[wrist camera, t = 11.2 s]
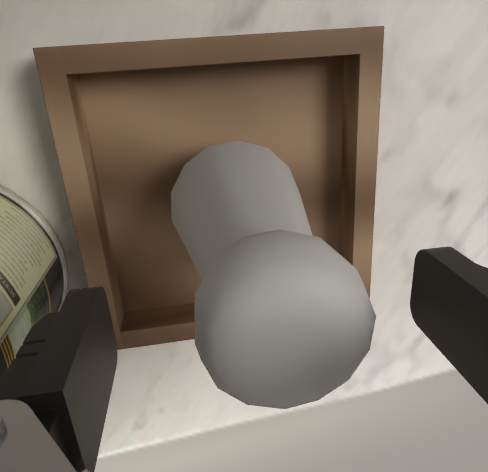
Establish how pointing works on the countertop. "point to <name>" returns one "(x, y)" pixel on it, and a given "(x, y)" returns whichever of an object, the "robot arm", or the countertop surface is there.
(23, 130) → the countertop surface
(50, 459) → the robot arm
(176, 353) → the countertop surface
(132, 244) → the walnut tray
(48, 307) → the coffee can
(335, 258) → the salt shaker
